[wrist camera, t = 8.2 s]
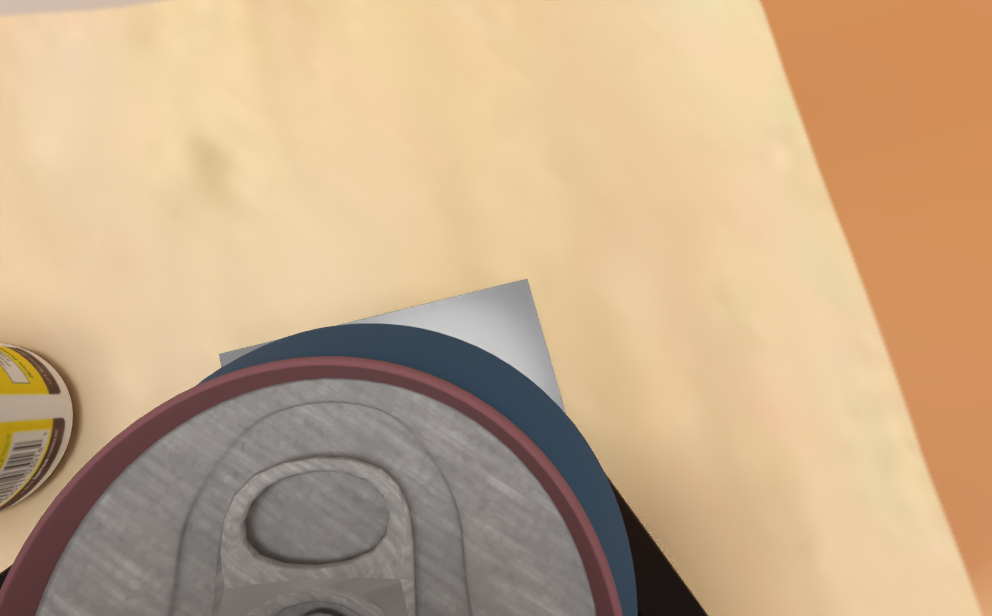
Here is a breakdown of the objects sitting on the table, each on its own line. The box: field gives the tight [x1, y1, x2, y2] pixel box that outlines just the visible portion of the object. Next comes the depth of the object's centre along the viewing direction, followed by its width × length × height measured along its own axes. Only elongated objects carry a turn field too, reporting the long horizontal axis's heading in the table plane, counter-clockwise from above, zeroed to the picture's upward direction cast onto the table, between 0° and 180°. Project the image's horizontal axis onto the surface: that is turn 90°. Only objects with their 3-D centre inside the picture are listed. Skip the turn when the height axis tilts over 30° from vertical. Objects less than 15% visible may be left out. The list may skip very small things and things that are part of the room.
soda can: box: [0, 323, 638, 616], centre depth 10 cm, size 7×7×12 cm
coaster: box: [219, 279, 566, 414], centre depth 16 cm, size 11×11×1 cm
